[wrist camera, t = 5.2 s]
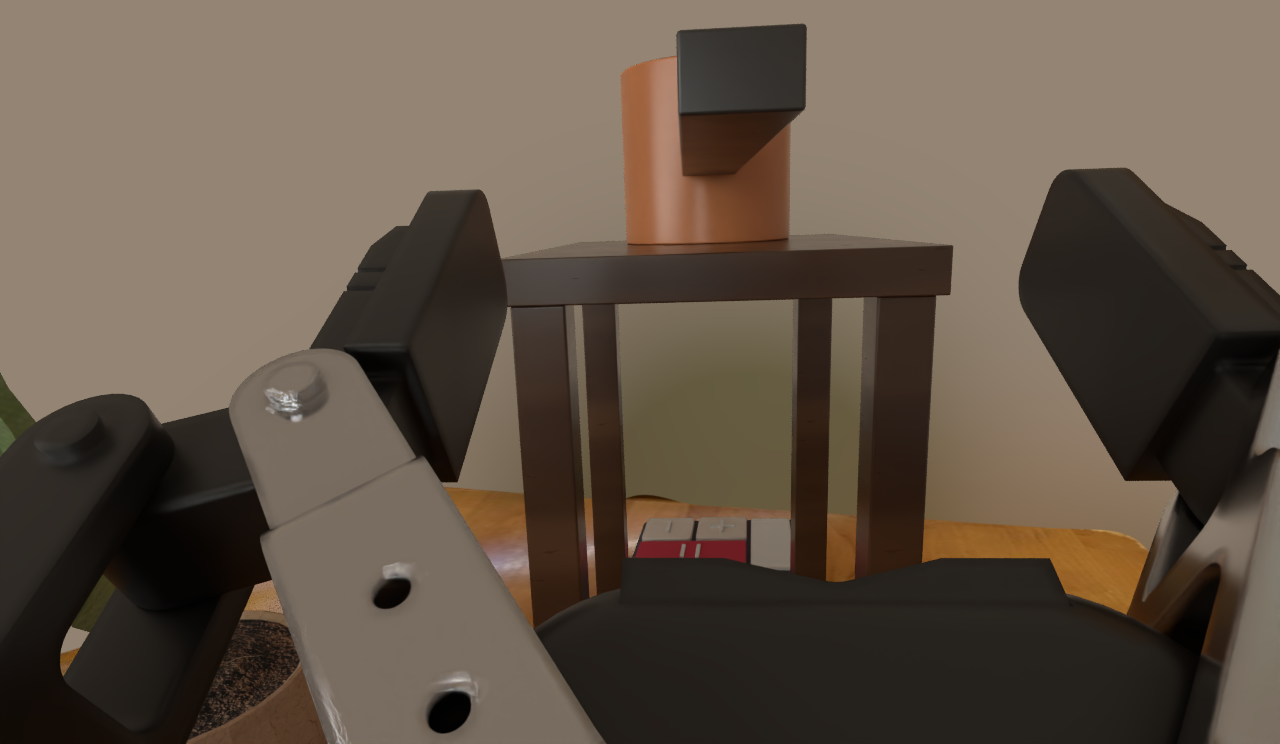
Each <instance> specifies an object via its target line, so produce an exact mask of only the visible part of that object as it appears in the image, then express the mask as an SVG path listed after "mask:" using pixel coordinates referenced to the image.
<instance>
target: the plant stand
mask: <svg viewBox="0 0 1280 744" xmlns="http://www.w3.org/2000/svg"><path fill="white" fill-rule="evenodd" d="M952 258H953V246H952V245H944V244H933V243H922V242H911V241H900V240H889V239H879V238H868V237H856V236H845V235H836V234H818V235H789V238H788V239H785V240H777V241H763V242H744V243H720V244H687V245H631V244H627V241H606V242H579V243H574V244H570V245H565V246H560V247H555V248H550V249H545V250H541V251H535V252H531V253H526V254H521V255H516V256H511V257H506V258H501V262H502V266H503V271H504V275H505V280H506V287H507V307H511V322H512V333H513V334H512V336H513V349H514V363H515V377H516V390H517V404H518V418H519V432H520V446H521V459H522V473H523V487H524V501H525V515H526V529H527V543H528V556H529V570H530V584H531V598H532V612H533V625H534V628H536V627H537V626H539V625H540V624H542V623H543V622H545V621H546V620H548V619H549V618H551V617H552V616H554V615H555V614H557V613H559V612H561V611H563V610H565V609H567V608H569V607H571V606H572V605H574V604H576V603H578V602H580V601H583V600H586V599H588V598H589V583H588V564H587V545H586V527H585V508H584V491H583V490H584V489H583V471H582V455H581V453H582V452H581V435H580V417H579V416H580V415H579V396H578V378H577V360H576V342H575V322H574V305H582V313H583V331H584V352H585V371H586V389H587V409H588V429H589V449H590V468H591V488H592V508H593V527H594V547H595V566H596V586H597V595H599V594H602V593H605V592H609V591H613V590H616V589H620V588H621V574H622V559H623V558H628V539H627V514H626V490H625V466H624V440H623V419H622V418H623V416H622V391H621V368H620V342H619V317H618V304H633V303H635V304H636V303H673V302H709V301H710V302H712V301H748V300H783V299H784V300H786V299H793V367H792V368H793V369H792V373H793V374H792V453H791V457H792V458H791V541H790V573H792V574H797V575H801V576H805V577H810V578H814V579H818V580H823V581H826V548H827V505H828V503H827V502H828V460H829V459H828V458H829V418H830V374H831V372H830V371H831V328H832V298H855V297H856V298H861V297H864V311H863V313H864V314H863V343H862V374H861V404H860V406H861V408H860V436H859V465H858V499H857V527H856V558H855V579H858V578H862V577H866V576H870V575H874V574H878V573H883V572H887V571H891V570H895V569H899V568H903V567H907V566H912V565H916V564H920V563H922V551H923V532H924V513H925V494H926V476H927V458H928V439H929V420H930V402H931V384H932V383H931V382H932V365H933V346H934V328H935V327H934V326H935V309H936V295H950V292H951V275H952Z"/></svg>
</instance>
